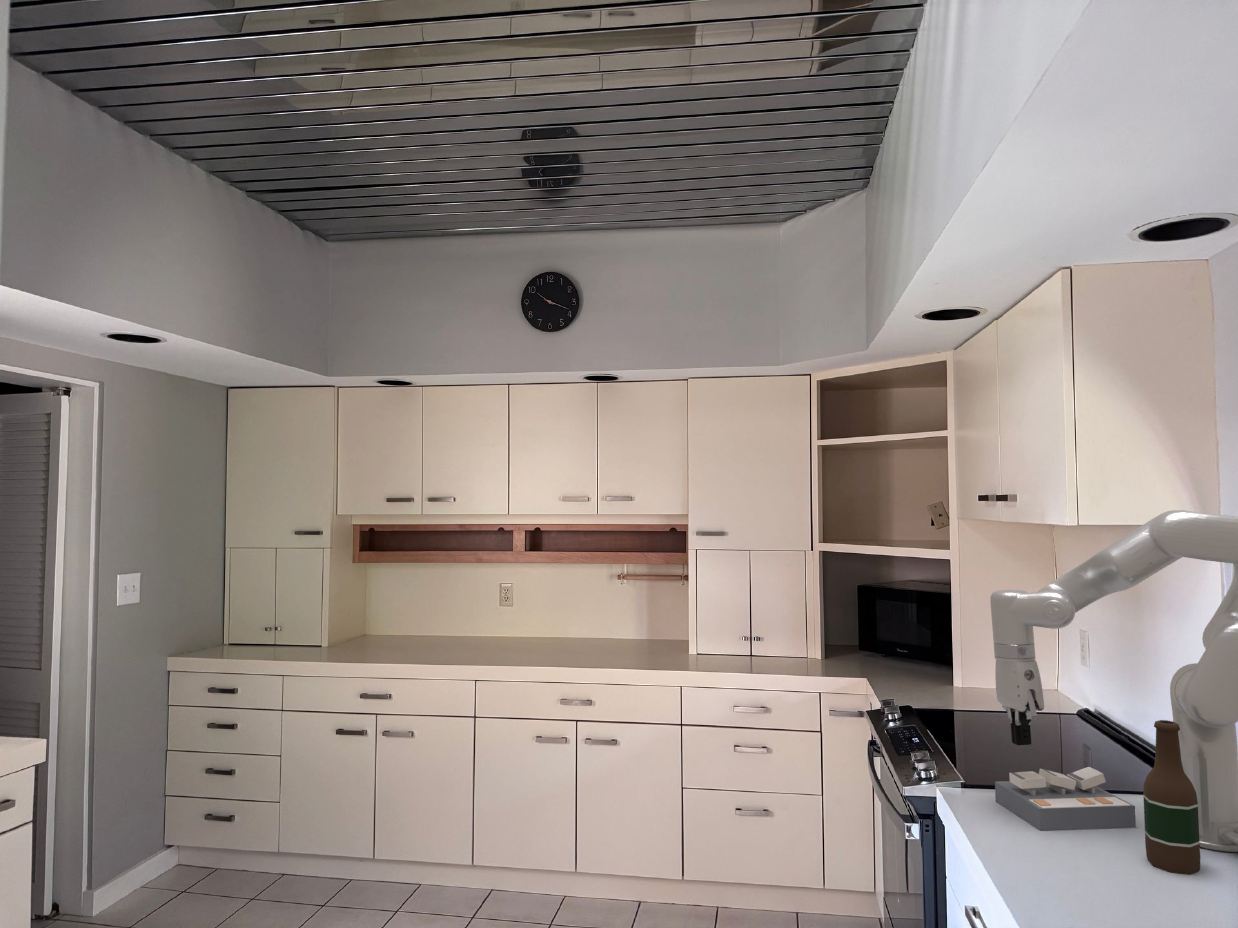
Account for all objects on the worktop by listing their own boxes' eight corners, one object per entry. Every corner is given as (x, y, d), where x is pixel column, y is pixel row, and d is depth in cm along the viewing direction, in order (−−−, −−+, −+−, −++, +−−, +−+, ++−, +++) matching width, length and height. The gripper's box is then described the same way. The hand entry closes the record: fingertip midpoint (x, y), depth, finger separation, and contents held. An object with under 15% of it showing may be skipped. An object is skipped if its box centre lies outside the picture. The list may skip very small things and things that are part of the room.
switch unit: (1135, 827, 156) (1134, 800, 157) (1040, 830, 155) (1039, 803, 155) (1082, 798, 172) (1081, 774, 173) (995, 801, 171) (994, 776, 171)
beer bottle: (1149, 851, 145) (1143, 713, 146) (1202, 863, 140) (1196, 720, 142) (1142, 866, 139) (1136, 722, 140) (1198, 879, 134) (1191, 729, 136)
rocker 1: (1046, 786, 163) (1045, 777, 163) (1022, 788, 163) (1021, 779, 163) (1033, 779, 167) (1032, 770, 167) (1009, 781, 167) (1009, 772, 167)
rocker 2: (1105, 781, 164) (1102, 772, 164) (1083, 790, 164) (1080, 780, 164) (1091, 774, 168) (1088, 766, 168) (1069, 782, 168) (1066, 773, 168)
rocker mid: (1074, 789, 163) (1076, 780, 164) (1050, 783, 163) (1052, 774, 163) (1060, 782, 168) (1062, 773, 168) (1038, 776, 167) (1040, 767, 168)
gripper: (1054, 656, 159) (1062, 752, 158) (1012, 645, 174) (1018, 733, 173) (1017, 658, 159) (1024, 755, 157) (978, 647, 174) (984, 735, 172)
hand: (1021, 743), depth 165 cm, fingers closed
